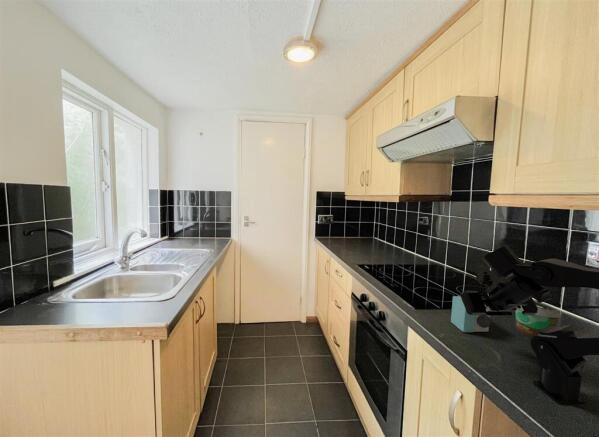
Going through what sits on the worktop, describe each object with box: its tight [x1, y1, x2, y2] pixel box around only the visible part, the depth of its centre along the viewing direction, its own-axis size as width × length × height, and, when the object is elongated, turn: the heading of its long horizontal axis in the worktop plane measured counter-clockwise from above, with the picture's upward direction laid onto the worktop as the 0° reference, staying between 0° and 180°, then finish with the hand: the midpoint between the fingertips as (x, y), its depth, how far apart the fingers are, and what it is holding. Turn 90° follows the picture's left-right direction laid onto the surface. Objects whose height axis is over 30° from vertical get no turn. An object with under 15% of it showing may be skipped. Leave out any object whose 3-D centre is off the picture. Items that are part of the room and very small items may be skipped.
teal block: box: [450, 295, 476, 333], centre depth 91 cm, size 7×4×9 cm, turn 1°
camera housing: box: [473, 315, 492, 333], centre depth 94 cm, size 13×5×8 cm, turn 1°
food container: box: [515, 303, 561, 338], centre depth 88 cm, size 12×6×10 cm, turn 21°
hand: (481, 313), depth 82 cm, fingers closed
